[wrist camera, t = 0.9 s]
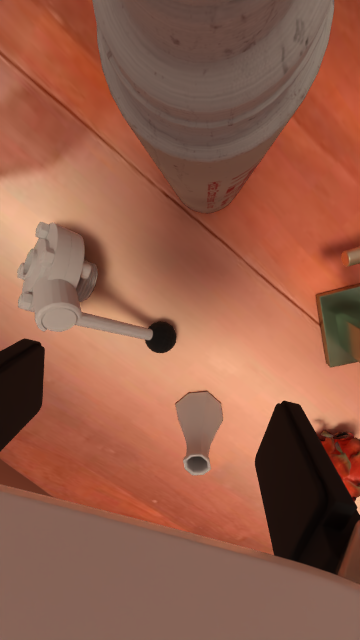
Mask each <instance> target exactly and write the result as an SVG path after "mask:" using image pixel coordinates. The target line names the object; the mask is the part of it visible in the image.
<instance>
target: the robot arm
mask: <svg viewBox="0 0 360 640" xmlns="http://www.w3.org/2000/svg"><path fill="white" fill-rule="evenodd" d="M44 354H45V349H44V347H42V346H41V343H40V342H37V341H33V340H29V339H22V340H20V341H18V342H17V343H15V344H13V345H11V346H9V347H8V348H6V349H4V350H2V351H0V451H1V450H2V449H3V448H4V447H5V446H6V445H7V444H8V443H9V442H10V441H11V440H12V439H13V438H14V437H15V436H16V435H17V434H18V433H19V432H20V430H21V429H22V428H23V427H24V426H25V425H26V424H27V423H28V422H29V421H30V420H31V419H32V418H33V417H34V416H35V415H36V414H37V413H38V412H39V410H40V408H41V406H42V397H43V375H44ZM255 467H256V472H257V477H258V481H259V486H260V491H261V495H262V500H263V505H264V509H265V514H266V519H267V523H268V528H269V533H270V537H271V542H272V547H273V551H274V555H271V554H267V553H264V552H260V551H256V550H253V549H249V548H246V547H242V546H238V545H234V544H231V543H227V542H223V541H219V540H215V539H212V538H208V537H204V536H200V535H196V534H193V533H189V532H185V531H181V530H177V529H174V528H170V527H166V526H162V525H158V524H155V523H151V522H147V521H143V520H139V519H135V518H131V517H127V516H123V515H120V514H116V513H112V512H108V511H104V510H100V509H96V508H92V507H88V506H84V505H80V504H77V503H73V502H69V501H65V500H61V499H57V498H53V497H49V496H45V495H41V494H37V493H33V492H29V491H25V490H21V489H17V488H13V487H9V486H5V485H1V484H0V640H360V515H359V513H358V511H357V510H356V509H357V506H356V504H355V502H354V500H353V499H352V497H351V495H350V493H349V491H348V490H347V488H346V486H345V484H344V482H343V481H342V479H341V477H340V475H339V474H338V472H337V470H336V468H335V466H334V465H333V463H332V461H331V459H330V457H329V456H328V454H327V452H326V450H325V449H324V447H323V445H322V443H321V441H320V440H319V438H318V436H317V434H316V432H315V431H314V429H313V427H312V425H311V424H310V422H309V420H308V418H307V416H306V415H305V413H304V411H303V409H302V407H301V406H300V405H299V404H296V403H291V402H287V401H283V402H282V403H281V404H279V403H278V404H277V405H276V407H275V409H274V412H273V414H272V417H271V419H270V422H269V424H268V427H267V429H266V432H265V434H264V437H263V439H262V442H261V444H260V447H259V449H258V452H257V454H256V458H255Z"/></svg>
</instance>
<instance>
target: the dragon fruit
mask: <svg viewBox="0 0 360 640" xmlns="http://www.w3.org/2000/svg"><path fill="white" fill-rule="evenodd" d="M337 434H338V436H336V437H339V436H343V435H348V436H347V437H346V438H341V439H334V437H333V436H335V435H337ZM320 435H322V436H324V437H326V439H325V441H321V443H322V445H323V447H324V449H325V450H326V452H327V454H328V456H329V457H330V459H331V461H332V463H333V465H334V466H335V468H336V470H337V472H338V474H339V475H340V477H341V479H342V481H343V482H344V484H345V486H346V488H347V490H348V491H349V493H350V495H351V497H352V499H353V500H354V501H356V498H357V497H359V496H360V439H357V438H354V435H353V434H352V433H348V432H343V433H342V432H339V433H336V434H335V435H332V434H331V433H329V432H327V431H326V430H324V431H323V432H322V433H321V434H320Z"/></svg>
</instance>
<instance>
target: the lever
mask: <svg viewBox="0 0 360 640" xmlns="http://www.w3.org/2000/svg"><path fill="white" fill-rule="evenodd" d="M341 258H342V262H343V264H344V265H345V266H351V265H355V264H359V263H360V247H357V248H354V249H350V250H346V251H344V252H342V255H341Z"/></svg>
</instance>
